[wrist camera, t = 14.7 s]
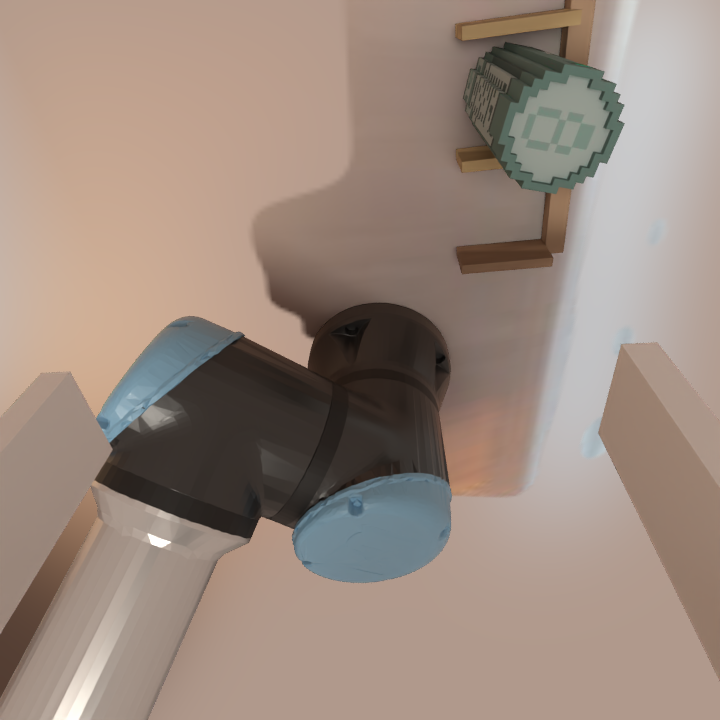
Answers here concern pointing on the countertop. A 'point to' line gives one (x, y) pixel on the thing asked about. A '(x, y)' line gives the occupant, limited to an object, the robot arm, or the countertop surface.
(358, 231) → the countertop surface
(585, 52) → the notch rack
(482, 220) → the countertop surface
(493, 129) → the can
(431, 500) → the robot arm
